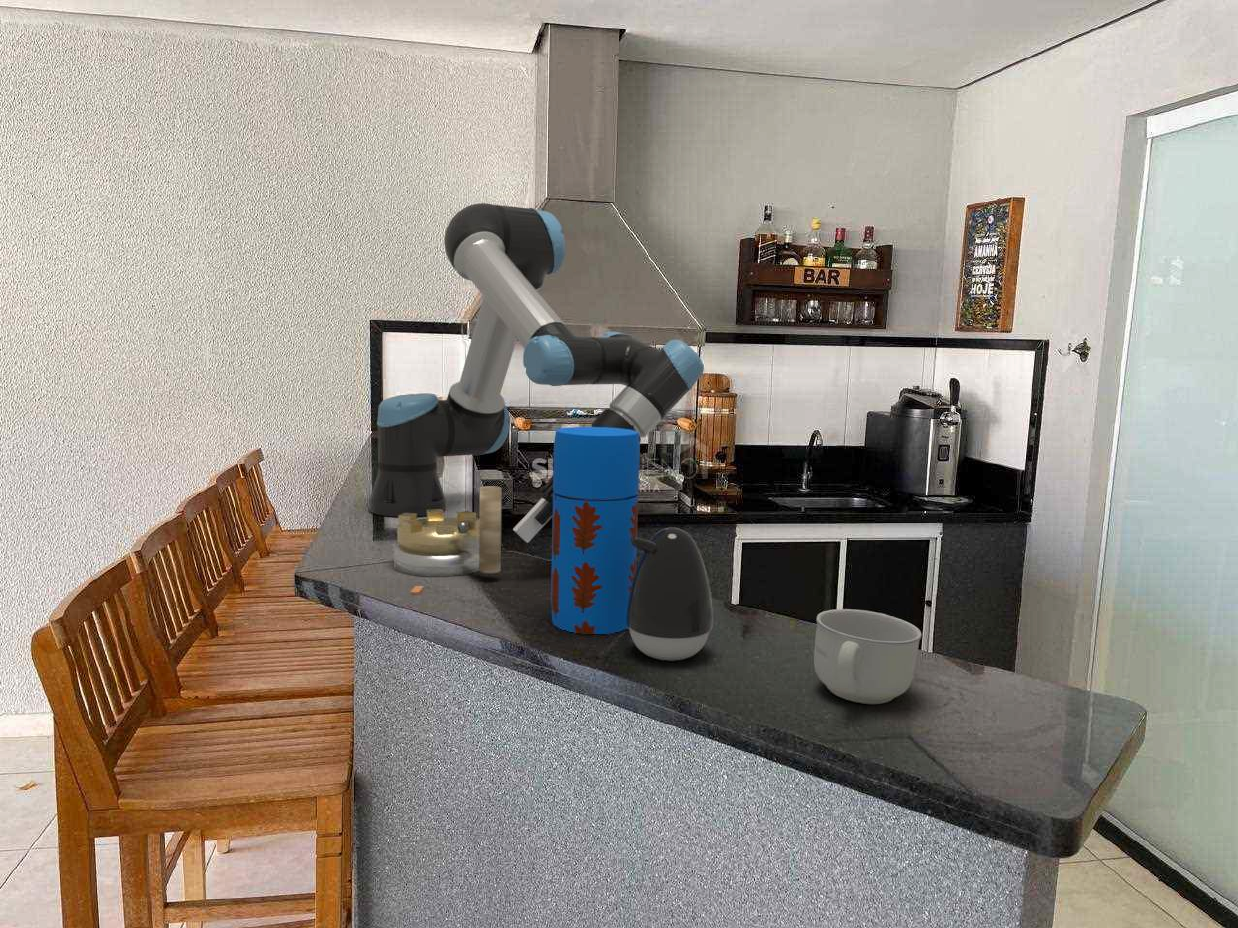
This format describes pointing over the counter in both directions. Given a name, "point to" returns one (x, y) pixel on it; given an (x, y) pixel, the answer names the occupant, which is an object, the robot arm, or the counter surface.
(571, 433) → the thermos
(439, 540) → the studded brass turntable
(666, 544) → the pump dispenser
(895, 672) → the teacup
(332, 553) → the counter surface
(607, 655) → the counter surface
